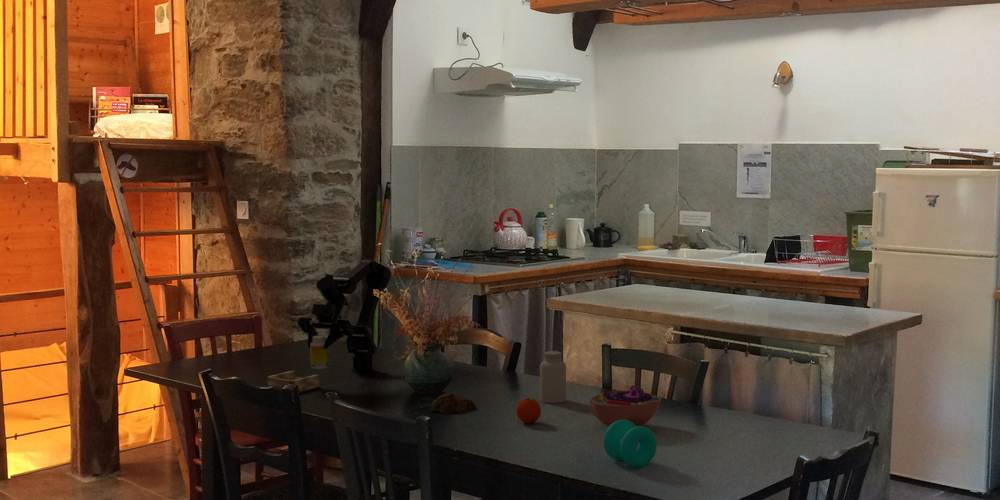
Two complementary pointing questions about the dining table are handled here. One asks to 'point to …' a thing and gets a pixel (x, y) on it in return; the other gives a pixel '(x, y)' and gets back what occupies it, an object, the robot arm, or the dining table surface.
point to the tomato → (528, 410)
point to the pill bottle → (552, 378)
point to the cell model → (625, 406)
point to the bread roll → (452, 404)
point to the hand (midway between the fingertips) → (316, 347)
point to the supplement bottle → (318, 353)
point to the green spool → (630, 443)
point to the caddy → (293, 380)
